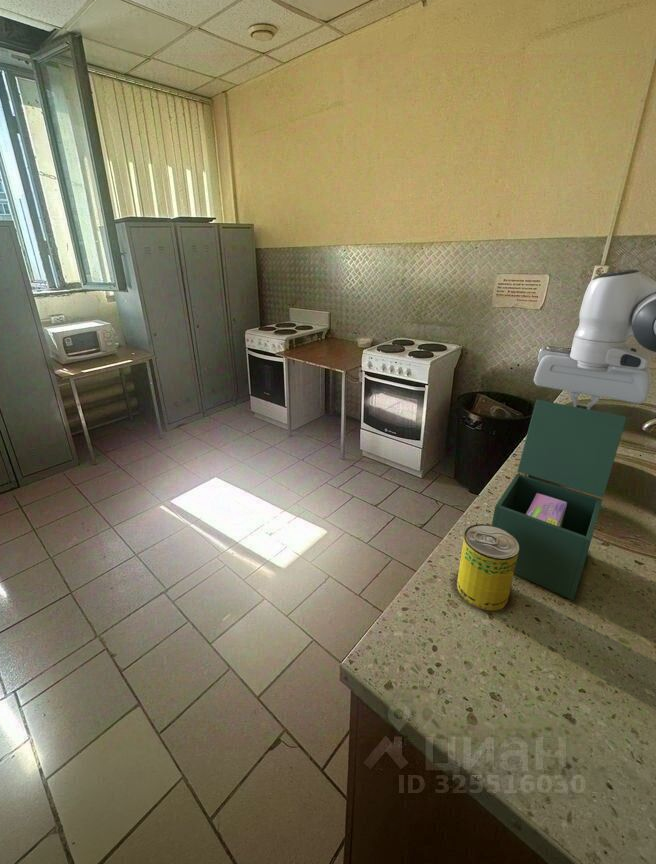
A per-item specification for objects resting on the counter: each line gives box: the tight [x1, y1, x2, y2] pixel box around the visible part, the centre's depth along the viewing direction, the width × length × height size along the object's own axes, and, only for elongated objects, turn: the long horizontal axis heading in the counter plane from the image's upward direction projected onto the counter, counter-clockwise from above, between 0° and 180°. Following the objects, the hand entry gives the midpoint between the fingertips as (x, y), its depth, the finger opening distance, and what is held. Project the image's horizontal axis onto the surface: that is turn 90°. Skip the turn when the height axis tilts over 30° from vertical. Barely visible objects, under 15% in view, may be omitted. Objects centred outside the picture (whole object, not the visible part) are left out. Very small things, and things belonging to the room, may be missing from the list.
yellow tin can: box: [456, 523, 519, 611], centre depth 73 cm, size 9×9×12 cm
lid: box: [516, 399, 628, 498], centre depth 83 cm, size 17×16×1 cm
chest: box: [491, 472, 603, 601], centre depth 81 cm, size 16×16×14 cm
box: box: [526, 493, 567, 527], centre depth 80 cm, size 10×6×12 cm, turn 139°
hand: (580, 412), depth 87 cm, fingers closed
